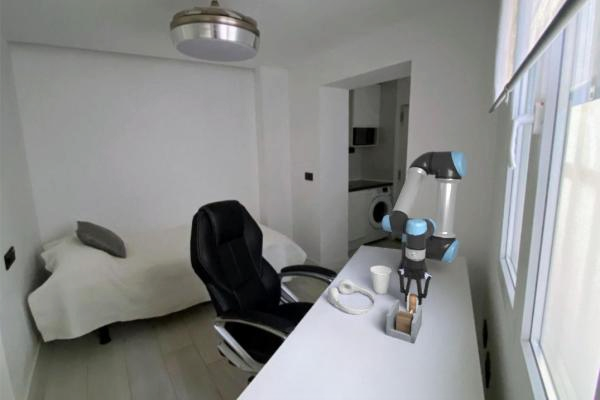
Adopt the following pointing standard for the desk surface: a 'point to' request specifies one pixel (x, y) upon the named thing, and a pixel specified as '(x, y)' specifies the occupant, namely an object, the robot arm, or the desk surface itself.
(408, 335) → the lane
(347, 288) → the headphones
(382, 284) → the cup
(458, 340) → the desk surface
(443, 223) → the robot arm
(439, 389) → the desk surface
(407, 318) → the tethered block
